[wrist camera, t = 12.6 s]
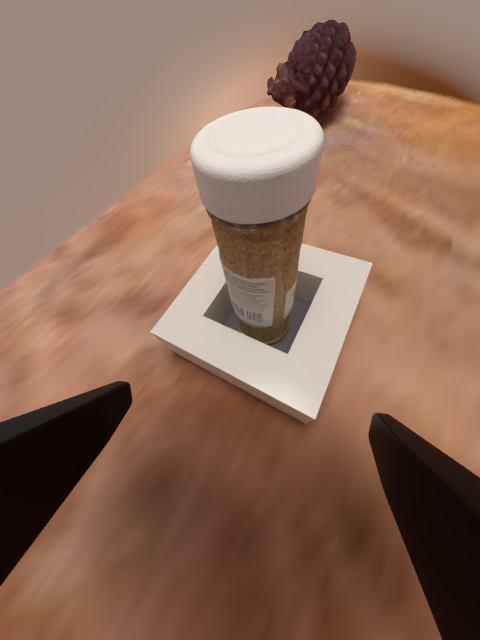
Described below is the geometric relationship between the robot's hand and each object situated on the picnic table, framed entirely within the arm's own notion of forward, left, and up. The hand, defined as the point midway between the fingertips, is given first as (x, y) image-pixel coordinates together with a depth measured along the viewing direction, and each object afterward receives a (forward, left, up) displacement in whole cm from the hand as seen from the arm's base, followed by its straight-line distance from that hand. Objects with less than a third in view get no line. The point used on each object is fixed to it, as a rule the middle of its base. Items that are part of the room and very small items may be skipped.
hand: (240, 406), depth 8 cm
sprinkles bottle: (+3, -7, -8) cm, 12 cm away
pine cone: (+13, -46, -10) cm, 49 cm away
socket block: (+3, -8, -9) cm, 12 cm away
